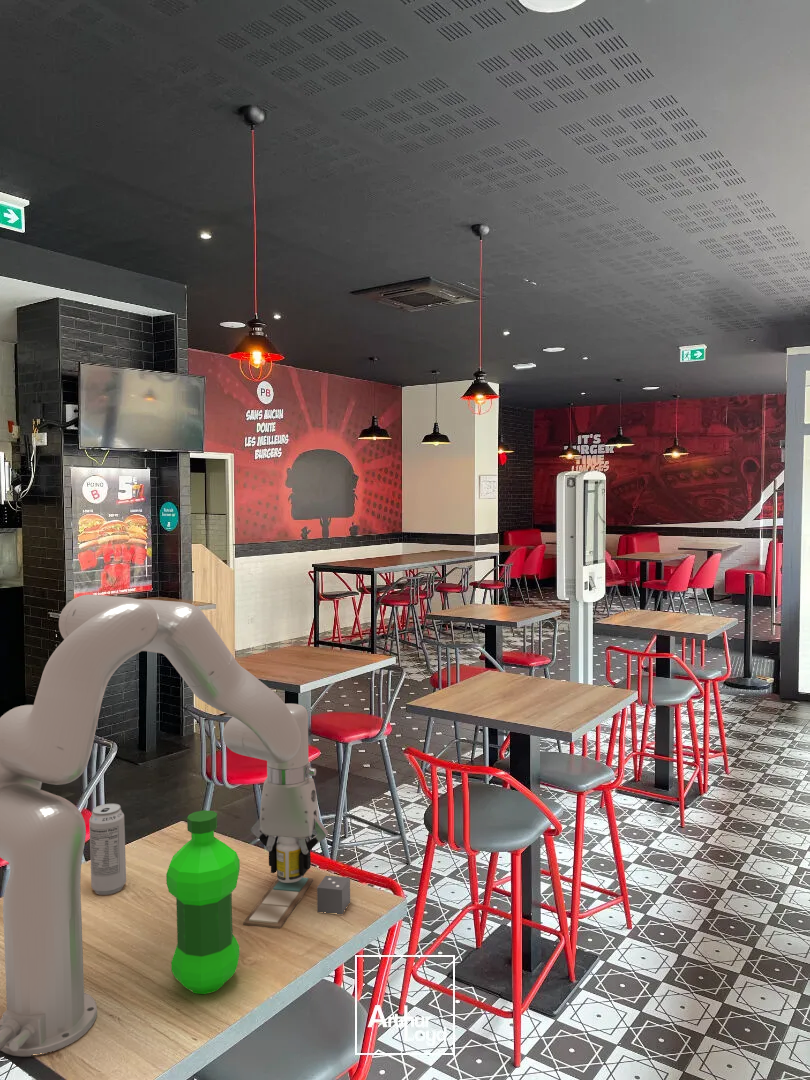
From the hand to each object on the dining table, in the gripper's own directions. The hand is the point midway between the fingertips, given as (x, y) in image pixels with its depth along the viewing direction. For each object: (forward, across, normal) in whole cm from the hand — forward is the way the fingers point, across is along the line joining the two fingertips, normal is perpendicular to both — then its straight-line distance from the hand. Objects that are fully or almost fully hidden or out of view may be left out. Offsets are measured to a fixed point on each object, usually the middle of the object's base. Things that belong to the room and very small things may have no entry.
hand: (289, 870), depth 146 cm
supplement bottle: (+2, 0, 0) cm, 2 cm away
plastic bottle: (+4, +2, +30) cm, 31 cm away
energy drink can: (+3, +33, +6) cm, 34 cm away
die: (+3, -10, +6) cm, 12 cm away
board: (+3, 0, +5) cm, 6 cm away
